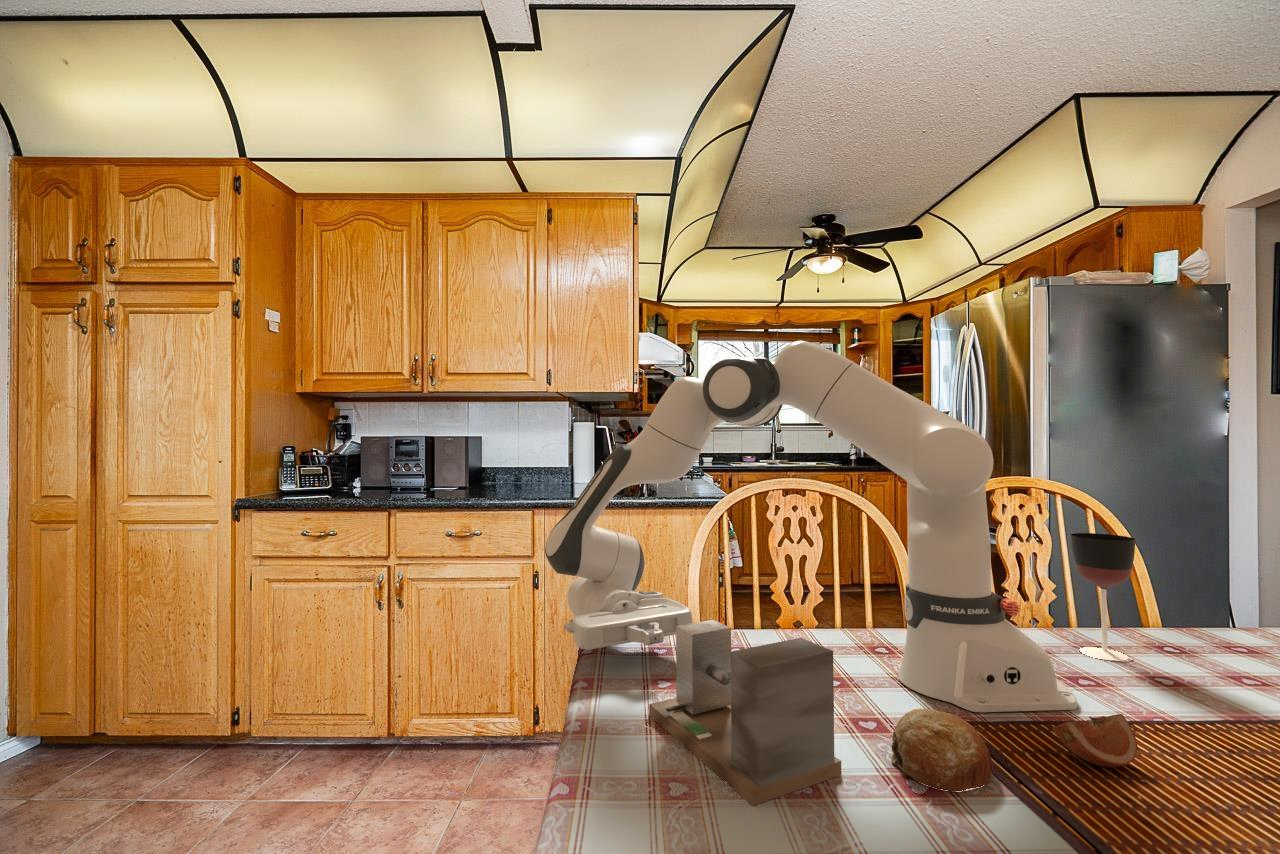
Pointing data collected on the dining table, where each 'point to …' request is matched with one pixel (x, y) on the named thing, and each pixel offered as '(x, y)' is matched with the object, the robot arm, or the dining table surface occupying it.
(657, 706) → the base
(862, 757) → the dining table surface
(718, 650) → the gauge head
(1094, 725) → the fruit slice
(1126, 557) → the wineglass
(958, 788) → the bread roll
